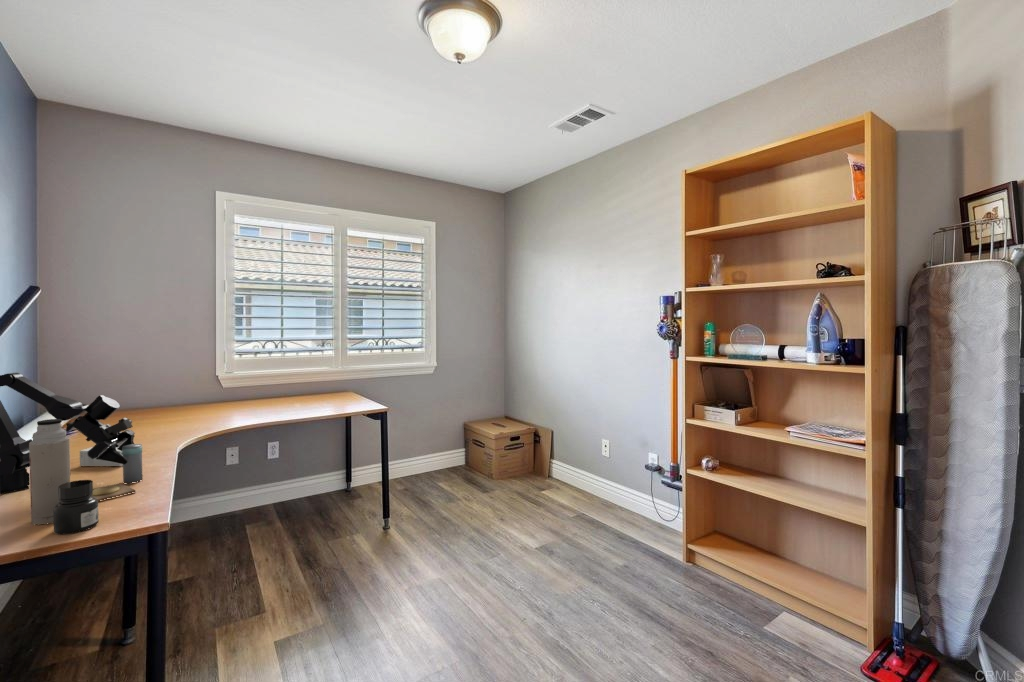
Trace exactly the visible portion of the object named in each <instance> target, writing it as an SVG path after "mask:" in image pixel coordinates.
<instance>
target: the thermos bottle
mask: <svg viewBox="0 0 1024 682" xmlns="http://www.w3.org/2000/svg"><path fill="white" fill-rule="evenodd" d="M36 422H37V423H36V425H37V426H36V431H35V432H33V433H32V436H31V439H32V441H31V442H30V443H29V455H30V467H29V479H30V485H29V488H30V489H29V492H30V523H31V524H32V523H33V524H45V525H48V524H47V523H51V524H54V520H53V509H54V507H55V506H56V505H57V504H58V503H59V502H60V501H59V498H58V487H59V486H60V485H62V484H65V483H68V482H71V458H70V457H71V454H70V453H71V451H70V448H71V447H70V444H71V443H70V437H68V436H67V431H66V429H63V428H62V424H61V423H62V422H63V421H62V419H56V418H50V419H42V420H38V421H36ZM33 524H32V525H33Z"/></svg>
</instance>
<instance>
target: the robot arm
mask: <svg viewBox="0 0 1024 682" xmlns="http://www.w3.org/2000/svg"><path fill="white" fill-rule="evenodd" d="M0 387H8V388H10V389H12V390H14V391H16V392H17V393H19V394H20V395H23V396H24V397H27V398H29V399H30V400H32V401H34V402H36V403H37V404H39V405H41V406H42V407H43V408H44V409H46V412H47V413H48V414H49V415H50V416H52V417H53V419H62V422H64V421H70V420H72V419H74V420H73V421H70V422H67V423H66V428H65V430H66V432H71V431H73V430H77V431H78V432H79V433H80V434H82V435H83V436H85V437H86V438H85V441H87V442H90V441H91V442H93V444H94V446H92V447H93V448H91V449H90V450H89V451H88V457H90V458H91V459H95V458H96V459H97V460H98V459H100V460H105V461H111V462H116V463H120V464H126V463H127V462H128V461H127V460H126V459H125V458H124V457H123V456H122V455H121V454H120V453H119V452H118V451H117V450H116V447H117V449H118V450H121V451H122V448H123V446H126V445H131V444H135V442H134V438H135V434H136V433H135V432H134V431H133V430H132V428H133V420H130V418H127V417H122V418H121V419H119V420H118V422H117V423H115V424H113V425H111V424H110V423H107V424H104V423H102V422H101V421H102V420H103V421H105V420H107V419H108V418H109V417H110V416H112V414H114V413H115V412H116V411H117V410H118V409H119V408H120V406H121V405H120V403H119V402H118V401H117V400H116V399H113V398H111V397H108V396H105V395H104V394H100V395H98V396H97V397H96V398H95V399H94V400H93V401H92V402H91V403H90V404H86V403H85V404H84V403H82V402H81V401H78V400H75V399H72V398H70V397H66V396H61V395H59V394H56V393H54V392H52V391H51V390H49V389H47V388H45V387H43V386H41V385H40V384H37V383H36V382H34V381H33V380H31V379H29V378H27V377H26V376H24V375H23V374H22V373H20V372H9V373H4V374H1V375H0ZM83 414H84V415H83ZM31 441H33V438H31V439H28V440H25V439H24V438H23V437H21V436H20V434H19V432H18V430H17V428H16V427H15V425H14V423H13V421H12V419H11V417H10V415H9V413H8V412H7V410H6V409H5V406H4V404H3V402H2V401H1V400H0V495H3V494H2V493H4V494H7V492H8V493H13V492H18V491H21V490H27V489H29V488H30V472H28V469H27V468H30V455H29V443H30V442H31ZM118 447H119V448H118ZM98 455H99V457H98Z"/></svg>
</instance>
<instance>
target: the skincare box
mask: <svg viewBox="0 0 1024 682" xmlns="http://www.w3.org/2000/svg"><path fill="white" fill-rule="evenodd" d="M93 447H94V446H91V447H88V448H84V449H81V450H80V451H79V467H81V466H121V467H123V464H120V463H116V462H111V461H105V460H100V459H98V460H97V459H96V458H95V459H91V458H90V457H88V451H89V450H90V449H91V448H93ZM118 448H119V447H118ZM116 450H117V451H118V452H119V453H120V454H121V455H122V451H121V450H118V449H117V447H116ZM122 456H123V455H122ZM98 457H99V455H98Z"/></svg>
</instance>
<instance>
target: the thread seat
mask: <svg viewBox="0 0 1024 682" xmlns="http://www.w3.org/2000/svg"><path fill="white" fill-rule="evenodd" d="M132 492H135V493H136V489H134V488H132V487H130V486H128V485H127V484H124V483H123V482H118V483H115V484H111V485H110V484H109V485H106V486H102V487H96V488H93V494H92V496H93V497H94V498H96V499H97V500H98V501H100V500H104V499H107V498H112V497H116V496H120V495H124V494H128V493H132Z"/></svg>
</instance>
